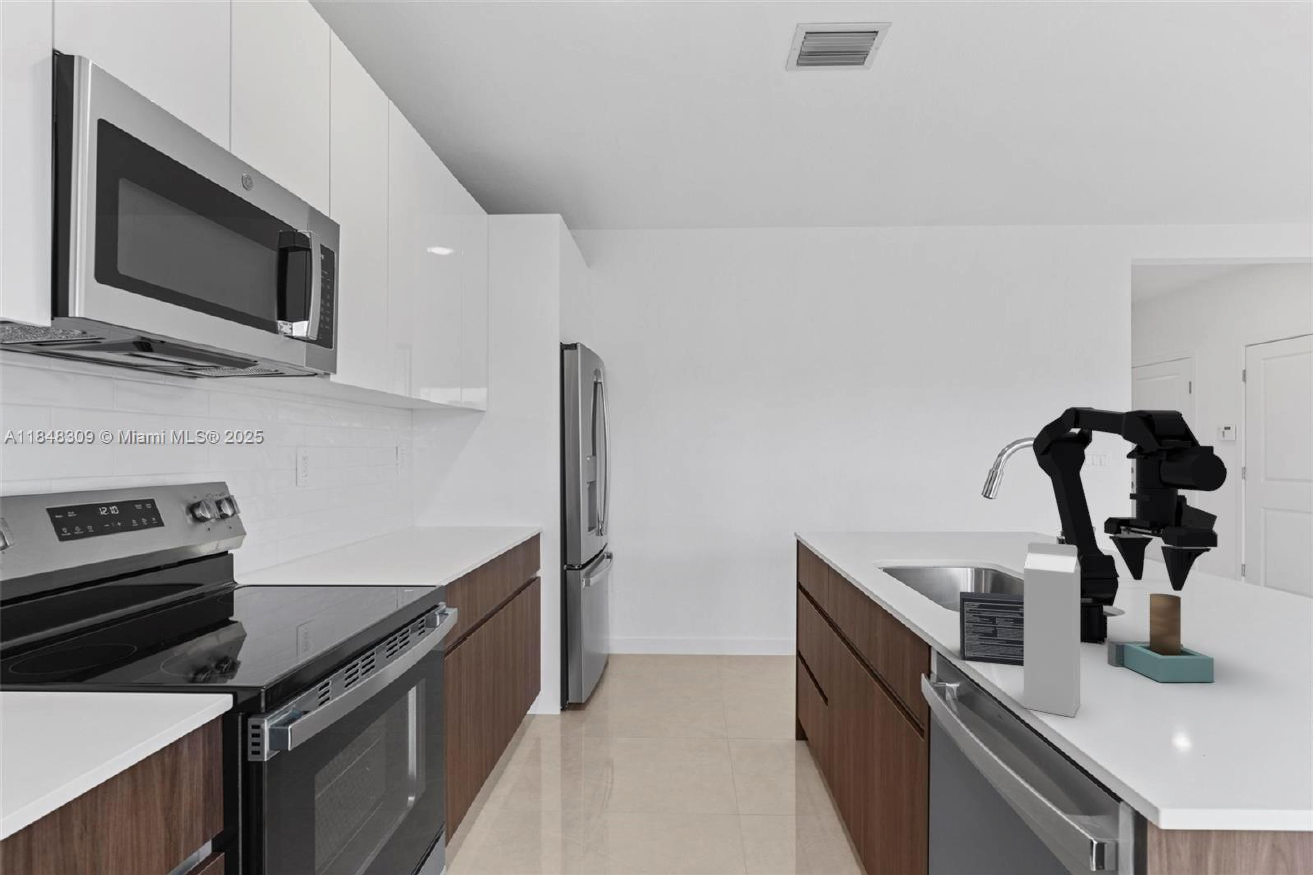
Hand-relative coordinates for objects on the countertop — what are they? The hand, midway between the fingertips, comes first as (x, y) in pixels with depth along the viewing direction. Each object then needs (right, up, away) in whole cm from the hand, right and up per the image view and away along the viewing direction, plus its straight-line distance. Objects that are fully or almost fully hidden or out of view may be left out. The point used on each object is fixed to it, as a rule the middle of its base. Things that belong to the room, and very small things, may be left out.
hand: (1156, 585), depth 121 cm
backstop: (-1, -13, +1) cm, 13 cm away
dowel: (-1, -13, -4) cm, 14 cm away
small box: (-24, -13, +4) cm, 28 cm away
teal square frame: (-1, -13, -4) cm, 14 cm away
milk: (-27, -13, -19) cm, 35 cm away
